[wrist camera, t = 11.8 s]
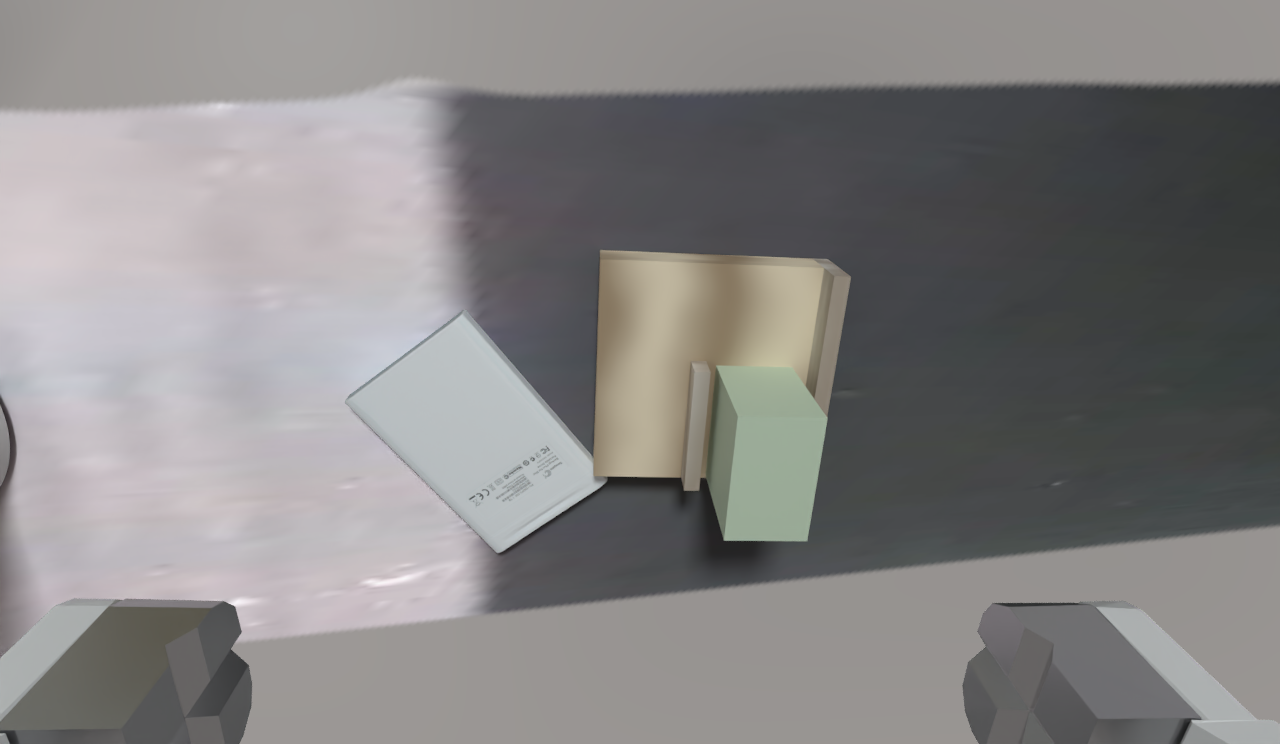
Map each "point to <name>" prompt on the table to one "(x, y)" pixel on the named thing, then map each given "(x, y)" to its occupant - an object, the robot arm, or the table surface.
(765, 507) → the tea box
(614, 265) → the shelf
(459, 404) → the external hard drive
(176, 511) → the table surface
